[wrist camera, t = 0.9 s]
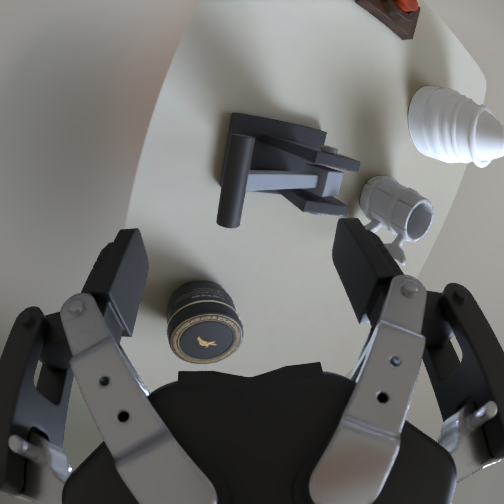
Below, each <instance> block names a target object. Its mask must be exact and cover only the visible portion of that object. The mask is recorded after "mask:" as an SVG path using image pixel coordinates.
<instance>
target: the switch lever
mask: <svg viewBox="0 0 504 504" xmlns="http://www.w3.org/2000/svg"><path fill="white" fill-rule="evenodd" d="M254 142H255V138H254V137H251V136H246V135H240V134H230V138H229V144H228V150H227V156H226V162H225V168H224V174H223V181H222V187H221V194H220V201H219V208H218V214H217V224H218V225H220V226H222V227H226V228H237V227H239V225H240V220H241V214H242V208H243V203H244V197H245V191H258V190H276V189H297V188H301V189H303V190H306V191H308V192H311V193H314V194H316V195H319V196H321V197H327V196H338V193H339V189H340V185H341V181H342V178H343V174H344V173H343V172H341V171H338V170H335V169H332V168H329V167H326V166H323V165H315V164H305V166H304V171H303V172H298V171H267V170H249V169H250V164H251V158H252V153H253V148H254Z"/></svg>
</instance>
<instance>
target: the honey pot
mask: <svg viewBox="0 0 504 504" xmlns="http://www.w3.org/2000/svg"><path fill="white" fill-rule="evenodd" d="M408 125H409V132H410V135H411V138H412V141H413V143H414V145H415V147H416V148H417V149H418V150H419V151H420V152H421V153H422V154H424V155H427V156H429V157H432V158H435V159H438V160H441V161H444V162H446V163H456V162H463V163H469V162H471V161H473V162H474V163H475V165H477V166H478V167H481V168H482V167H485V166H487V165H488V164H489V163H490V162H491V160H492V159H496V158H499V157H502V156H504V126H503V125H502V124H501V123H500V122H499V121H498V120H497V119H496V118H495V117H494V114H493V112H492V111H491V109H490V108H489V107H488V106H486V105H483V104H482V105H478V104H476V103H475V102H474V101H473V100H472V99H469V98H467V97H465V96H464V95H461V94H460V93H458V92H457V91H455V90H452V89H446V88H440V87H431V86H426V87H422V88H420V89H419V90H417V91H416V93H415V94H414V96H413V97H412V100H411V103H410V106H409V112H408Z"/></svg>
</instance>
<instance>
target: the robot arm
mask: <svg viewBox="0 0 504 504" xmlns="http://www.w3.org/2000/svg"><path fill="white" fill-rule="evenodd" d="M332 258H333V263H334V265H335V267H336V270H337V272H338V274H339V276H340V279H341V281H342V283H343V286H344V288H345V290H346V293H347V295H348V297H349V300H350V302H351V305H352V307H353V309H354V312H355V314H356V317H357V319H358V322H359V324H360V323H366V322H370V324H371V328H370V330H369V333H368V335H367V338H366V340H365V343H364V345H363V348H362V350H361V353H360V355H359V357H358V360H357V362H356V364H355V367H354V369H353V371H352V373H351V375H350V377H349V378H346V377H344V376H342V375H338V374H335V373H331V372H325V371H322V367H321V363H320V362H316V363H308V364H300V365H292V366H285V367H282V368H279V369H276V370H273V371H270V372H267V373H264V374H261V375H258V376H254V377H243V376H237V375H232V374H226V373H221V372H216V371H179V372H178V381H175V382H172V383H169V384H166V385H164V386H162V387H160V388H158V389H156V390H155V391H153V392H152V393H150V392H149V390H148V389H147V387H146V386H145V385H144V383H143V382H142V380H141V379H140V377H139V375H138V374H137V372H136V370H135V369H134V367H133V366H132V364H131V362H130V360H129V359H128V357H127V355H126V354H125V352H124V350H123V348H122V347H121V345H120V340H121V336H126V337H132V333H133V329H134V325H135V320H136V316H137V312H138V308H139V305H140V301H141V297H142V293H143V290H144V286H145V282H146V279H147V275H148V270H149V264H148V258H147V254H146V251H145V247H144V244H143V240H142V237H141V233H140V231H139V229H138V228H134V229H122V230H120V231H119V232H118V234H117V236H116V238H115V240H114V242H112V243H109V244H108V245H107V246H106V247H105V248H104V249H103V250H102V251H101V252H100V254H99V256H98V258H97V261H96V262H95V264H94V266H93V269H92V270H91V272H90V274H89V276H88V278H87V281H86V283H85V285H84V287H83V289H82V291H81V293H79V294H76V295H73V296H72V297H70V298H69V299H68V300H67V301H66V302H65V303H64V304H63V306H62V308H61V311H60V312H57V313H53V314H49V315H46V316H45V315H44V314H43V312H42V311H41V310H40V308H38V307H34V306H33V307H29V308H27V309H25V310H24V311H22V312H21V313H20V314H19V316H18V317H17V318H16V321H15V323H14V325H13V327H12V330H11V332H10V335H9V337H8V340H7V342H6V345H5V347H4V350H3V353H2V356H1V359H0V491H2V492H5V493H7V494H8V495H10V496H13V497H17V498H20V499H23V500H27V501H30V502H34V503H36V504H451V503H452V498H453V494H454V490H455V486H456V483H458V482H460V481H462V480H463V479H465V478H467V477H469V476H470V475H472V474H474V473H475V472H477V471H478V470H480V469H482V468H484V467H486V466H488V465H491V464H493V463H495V462H497V461H499V460H501V459H503V458H504V352H503V350H502V348H501V346H500V344H499V342H498V340H497V338H496V336H495V334H494V332H493V330H492V328H491V327H490V325H489V323H488V321H487V319H486V318H485V316H484V314H483V312H482V311H481V309H480V308H479V306H478V304H477V302H476V301H475V299H474V297H473V296H472V294H471V293H470V292H469V291H468V290H467V289H466V288H465V287H464V286H462V285H459V284H457V283H450V284H448V285H447V286H446V287H445V289H444V291H443V292H442V293H438V292H432V291H426V289H425V287H424V286H423V284H422V283H421V282H420V281H419V280H418V279H416V278H414V277H412V276H409V275H404V274H403V272H402V271H401V269H400V267H399V266H398V264H397V263H396V261H395V260H394V258H393V257H392V255H391V254H390V253H389V251H388V249H387V248H386V247H385V246H384V244H383V242H382V241H381V239H380V238H379V237H378V236H377V235H376V234H374V233H373V232H372V231H370V230H366V229H365V227H364V226H363V224H362V223H361V222H360V220H359V219H358V218H340V219H339V220H338V223H337V229H336V234H335V239H334V244H333V250H332ZM453 335H455V336H456V339H457V341H458V343H459V345H460V347H461V350H462V354H463V357H462V361H461V363H460V361H459V359H458V356H457V354H456V352H455V350H454V348H453V345H452V343H451V341H450V339H451V338H452V336H453ZM422 359H423V362H424V364H425V367H426V370H427V372H428V375H429V378H430V381H431V384H432V387H433V389H434V392H435V396H436V398H437V402H438V405H439V408H440V411H441V415H442V418H443V422H444V423H443V426H442V429H441V434H440V436H439V437H438V443H437V442H436V441H435V440H433V439H432V438H430V437H429V436H427V435H426V434H424V433H423V432H422V431H420V430H419V429H418V428H416V427H415V426H413V425H412V424H410V423H409V422H408V421H406V420H405V419H406V416H407V413H408V410H409V406H410V403H411V400H412V396H413V392H414V389H415V385H416V382H417V378H418V374H419V370H420V365H421V361H422ZM38 360H40V361H41V362H42V363H43V364H42V368H41V372H40V375H39V379H38V383H37V387H36V388H35V386H34V380H33V379H34V374H35V370H36V367H37V363H38ZM74 376H75V379H76V381H77V384H78V386H79V389H80V391H81V394H82V396H83V398H84V400H85V403H86V405H87V407H88V409H89V412H90V414H91V416H92V418H93V420H94V422H95V424H96V426H97V428H98V430H99V432H100V434H101V435H102V437H103V440H104V441H103V442H102V443H101V444H100V445H99V446H98V448H96V449H95V450H94V451H93V452H92V453H91V454H90V455H89V456H88V457H87V458H86V459H85V461H84V462H82V463H81V464H80V465H79V467H77V469H76V470H75V471H74V472H72V474H70V473H71V471H72V466H71V464H70V463H69V462H68V458H67V456H66V454H65V452H64V451H63V438H64V430H65V422H66V415H67V409H68V403H69V396H70V392H71V387H72V382H73V377H74Z"/></svg>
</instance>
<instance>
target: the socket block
mask: <svg viewBox="0 0 504 504" xmlns="http://www.w3.org/2000/svg"><path fill="white" fill-rule="evenodd" d="M356 3H357V4H358V5H360V6H361V7H363V8H364V9H365V10H367V11H368V12H369V13H371V14H372V15H373V16H375V17H376V18H377V19H379V20H380V21H381V22H382V23H384V24H385V25H386V26H387V27H389V28H390V29H391V30H392V31H393V32H394V33H396V34H397V35H398V36H399V37H400V38H401V39H402V40H406V39H413V35H414V31H415V28H416V24H417V20H418V16H419V12H420V7H419V6H418V9H417V10H416V11H410V12H404V11H402V10H401V9H400V8H399V7H398V6H397V4H396V3H395V1H394V0H357V1H356Z"/></svg>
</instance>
